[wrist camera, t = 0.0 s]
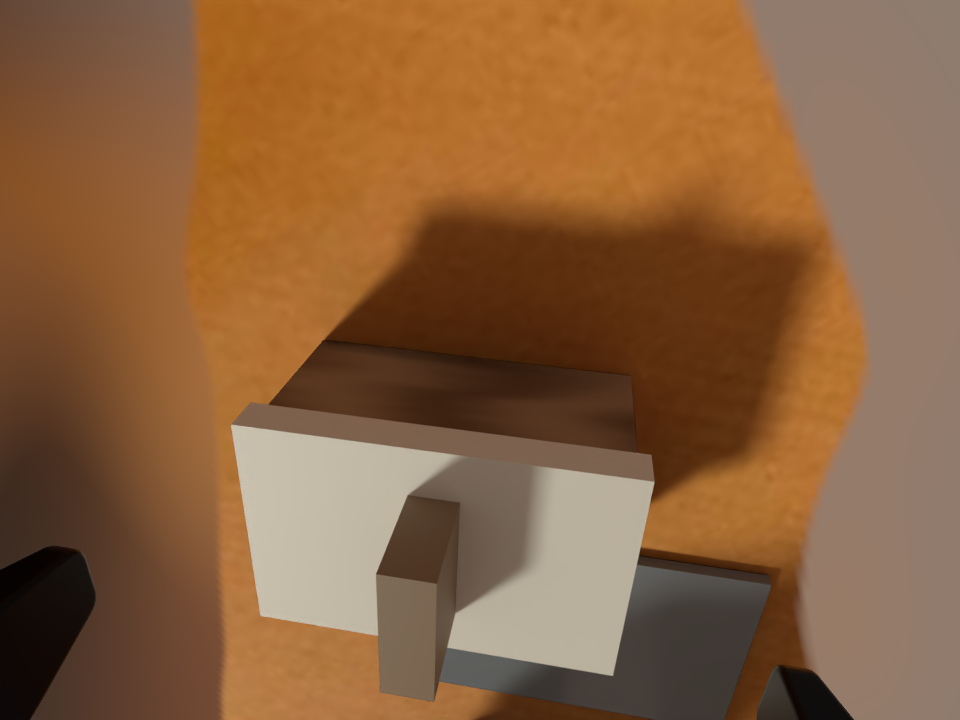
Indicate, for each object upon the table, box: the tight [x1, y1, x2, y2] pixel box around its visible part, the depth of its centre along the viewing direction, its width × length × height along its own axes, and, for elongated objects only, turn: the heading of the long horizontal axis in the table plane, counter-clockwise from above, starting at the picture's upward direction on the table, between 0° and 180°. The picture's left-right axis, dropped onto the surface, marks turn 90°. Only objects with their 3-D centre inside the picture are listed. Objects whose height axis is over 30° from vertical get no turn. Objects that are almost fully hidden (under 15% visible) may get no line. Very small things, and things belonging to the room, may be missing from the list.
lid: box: [231, 403, 655, 702], centre depth 19 cm, size 12×8×5 cm, turn 87°
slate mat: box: [439, 556, 772, 720], centre depth 28 cm, size 9×13×1 cm
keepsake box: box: [268, 340, 638, 453], centre depth 23 cm, size 11×7×5 cm, turn 87°
